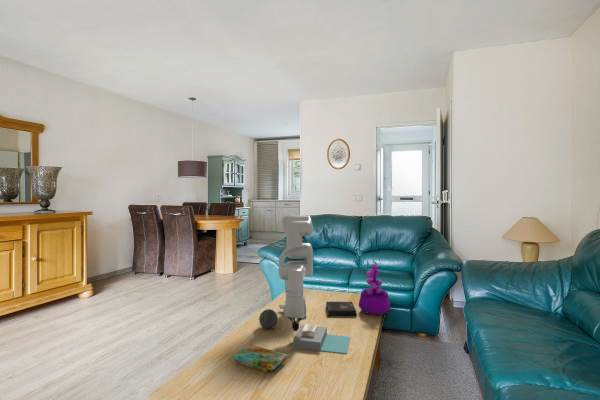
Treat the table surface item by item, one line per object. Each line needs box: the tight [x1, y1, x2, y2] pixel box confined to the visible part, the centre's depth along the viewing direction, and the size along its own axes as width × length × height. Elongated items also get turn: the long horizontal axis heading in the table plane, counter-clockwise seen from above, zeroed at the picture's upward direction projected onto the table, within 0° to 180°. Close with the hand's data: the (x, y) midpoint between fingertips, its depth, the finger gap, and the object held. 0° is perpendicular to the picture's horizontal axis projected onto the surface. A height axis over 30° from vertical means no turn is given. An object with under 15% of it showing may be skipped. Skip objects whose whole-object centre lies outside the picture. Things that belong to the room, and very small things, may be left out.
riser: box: [292, 324, 328, 352], centre depth 162 cm, size 13×18×4 cm
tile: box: [302, 323, 318, 337], centre depth 162 cm, size 6×8×2 cm
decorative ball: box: [258, 308, 279, 330], centre depth 178 cm, size 10×10×10 cm
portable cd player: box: [325, 301, 358, 318], centre depth 203 cm, size 16×17×4 cm
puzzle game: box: [232, 344, 289, 373], centre depth 141 cm, size 12×5×20 cm
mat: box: [320, 333, 351, 355], centre depth 159 cm, size 12×18×1 cm, turn 166°
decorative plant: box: [358, 263, 391, 316], centre depth 201 cm, size 19×18×30 cm
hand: (295, 330), depth 164 cm, fingers closed
